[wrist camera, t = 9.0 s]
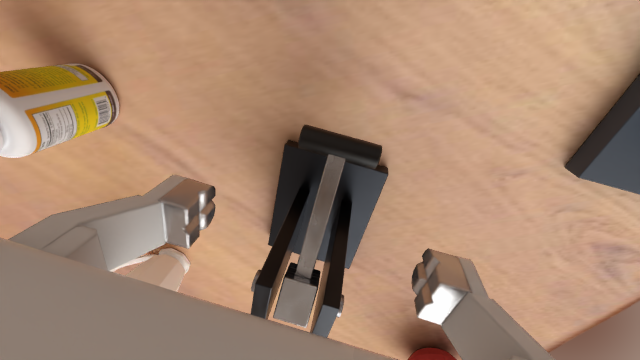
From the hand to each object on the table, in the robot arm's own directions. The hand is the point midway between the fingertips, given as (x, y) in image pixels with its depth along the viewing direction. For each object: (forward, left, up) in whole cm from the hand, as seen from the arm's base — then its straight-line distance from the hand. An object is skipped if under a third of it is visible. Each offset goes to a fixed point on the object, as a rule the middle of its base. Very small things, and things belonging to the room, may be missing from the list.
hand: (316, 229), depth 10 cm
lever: (+5, 0, -7) cm, 8 cm away
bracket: (+9, 0, -14) cm, 16 cm away
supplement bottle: (+4, -23, -14) cm, 27 cm away
